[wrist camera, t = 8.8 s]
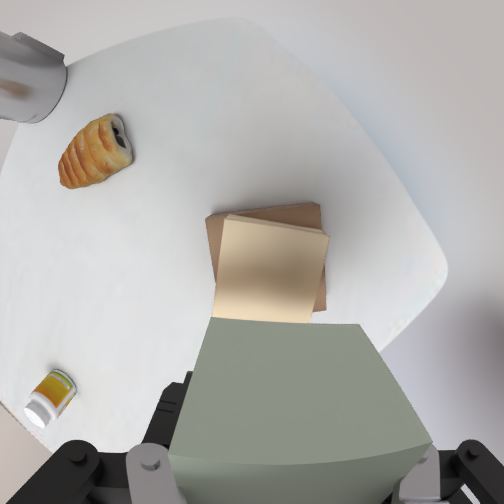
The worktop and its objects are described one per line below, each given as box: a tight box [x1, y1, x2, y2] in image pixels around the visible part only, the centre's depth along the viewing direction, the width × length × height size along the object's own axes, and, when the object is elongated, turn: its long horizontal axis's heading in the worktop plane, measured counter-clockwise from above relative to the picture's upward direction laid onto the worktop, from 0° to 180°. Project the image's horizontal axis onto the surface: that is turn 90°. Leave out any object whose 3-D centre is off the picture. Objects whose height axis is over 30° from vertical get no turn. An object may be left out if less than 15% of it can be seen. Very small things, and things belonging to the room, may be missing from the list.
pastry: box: [58, 114, 132, 189], centre depth 24 cm, size 9×7×4 cm
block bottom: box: [205, 203, 326, 312], centre depth 27 cm, size 10×10×4 cm
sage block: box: [168, 317, 433, 504], centre depth 8 cm, size 6×6×6 cm
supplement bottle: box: [24, 370, 76, 428], centre depth 29 cm, size 5×5×10 cm
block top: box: [212, 214, 330, 323], centre depth 23 cm, size 8×8×4 cm
